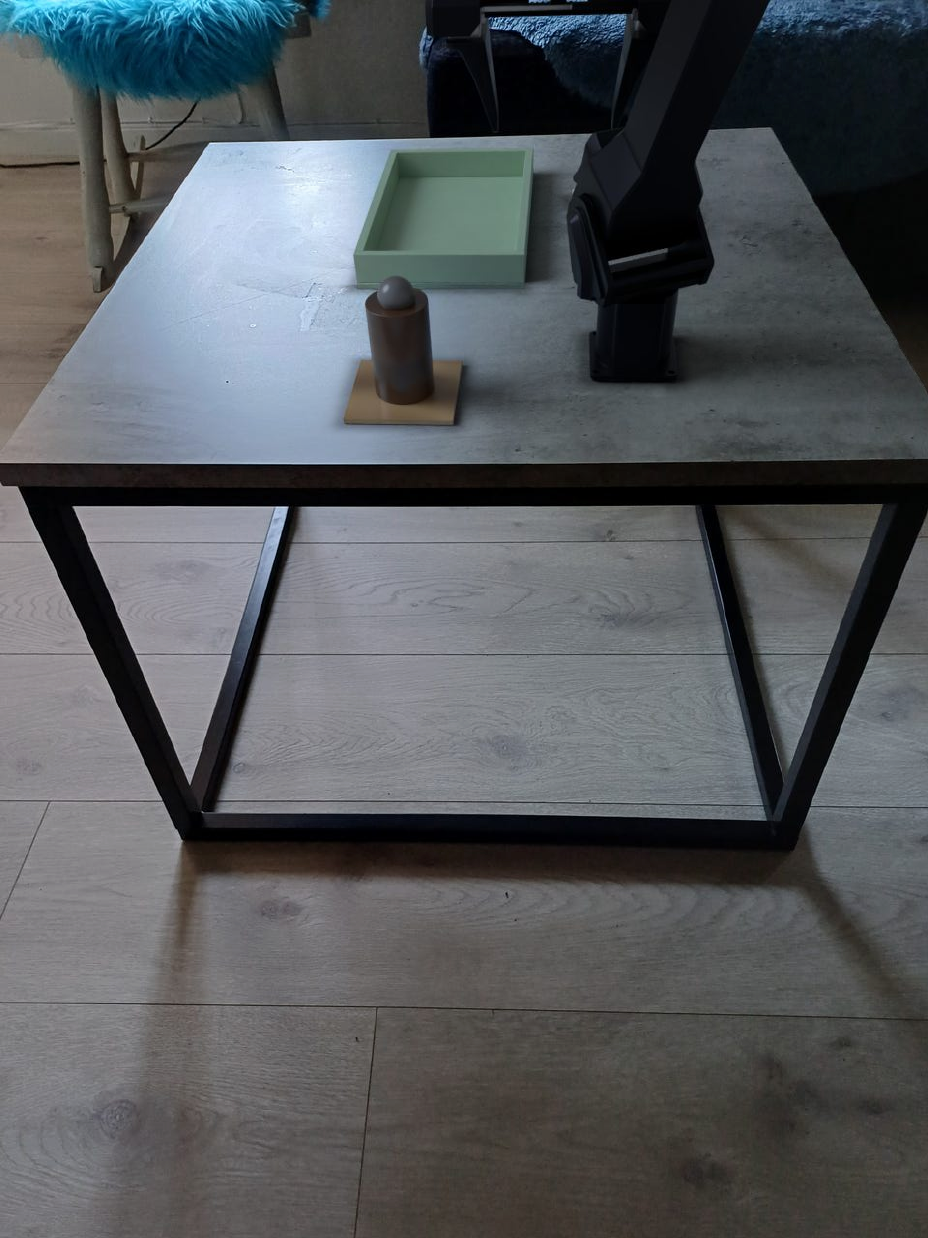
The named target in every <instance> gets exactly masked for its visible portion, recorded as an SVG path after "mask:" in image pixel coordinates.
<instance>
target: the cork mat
mask: <svg viewBox="0 0 928 1238" xmlns="http://www.w3.org/2000/svg"><path fill="white" fill-rule="evenodd" d="M463 362H464V361H463V360H433V370H434V384H435V388H434V391H433V393H432V394H431V395H430V396H429V397H428V398H427V399H425V400H423V401H421V402H418V403H415V404H410V405H395V404H390V403H387V402H385V401H383V400H382V399H380V398H379V397H378V395H377V393H376V388H375V380H374V372H373V364H372V359H361V360H360V361H359V364H358V367H357V370H356V374H355V377H354V382H353V384H352V388H351V392H350V395H349V397H348V401H347V403H346V404H347V405H346V408H345V411H344V415H343V418H342V420H343V424H351V425H353V424H355V425H356V424H358V425H359V424H361V425H365V424H366V425H422V426H423V425H425V426H426V425H430V426H431V425H432V426H434V425H435V426H436V425H437V426H454V424H455V418H456V417H455V416H456V410H457V404H458V398H459V391H460V384H461V378H462V372H463V366H464V365H463V364H464V363H463Z"/></svg>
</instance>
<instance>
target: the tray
mask: <svg viewBox="0 0 928 1238" xmlns="http://www.w3.org/2000/svg"><path fill="white" fill-rule="evenodd" d="M534 151H535V150H534V147H493V148H492V147H491V148H489V147H484V148H479V147H478V148H477V147H476V148H475V147H474V148H407V149H405V148H403V149H399V148H397V149H392V148H391V149H390V150H389V153H388V156H387V159H386V162H385V164H384V167H383V170H382V172H381V175H380V178H379V181H378V184H377V186H376V189H375V192H374V195H373V198H372V201H371V204H370V206H369V209H368V211H367V215H366V217H365V220H364V223H363V226H362V229H361V231H360V234H359V237H358V239H357V242H356V245H355V247H354V248H355V249H354V250H353V255H352V258H353V265H354V273H355V282H356V288H357V289H358V290H361V289H362V290H378V288H379V285H380V284H381V282H382V281H383V280H384V279H386V278H388V277H390V276H401V277H404V278H405V279H407V280H408V281H409V282H410V283H411V285H412V286H413V288H416V289H419V290H525V285H526V284H525V281H526V269H527V268H526V267H527V256H528V255H527V254H528V243H529V231H530V217H531V205H532V193H533V182H534V153H535V152H534Z"/></svg>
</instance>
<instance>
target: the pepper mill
mask: <svg viewBox="0 0 928 1238" xmlns="http://www.w3.org/2000/svg"><path fill="white" fill-rule="evenodd" d="M379 284H380V285H379V288H378V289H377V290H376V291H374V292H373V293H371V294H370V295H368V296H367V297H366V299H365V301H364V306H365V314H366V316H365V317H366V323H367V331H368V339H369V346H370V356H371V360H372V364H373V372H374V380H375V388H376V393H377V395H378V397H379V398H380V399H382V400H383V401H385V402H387V403H390V404H395V405H410V404H415V403H418V402H421V401H423V400H425V399H427V398H428V397H429V396H430V395H431V394H432V393H433V391H434V388H435V384H434V370H433V361H434V359H433V344H432V343H433V342H432V331H431V317H430V304H429V297H428V296H427V293H426V292H424V291H423V290H422V289H416V288H413V286H412V285H411V284H412V283H410V282H409V281H408V280H407V279H405V278H404V277H401V276H390V277H388V278H386V279H384V280H383V281H382V282H381V283H379Z"/></svg>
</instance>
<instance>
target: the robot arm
mask: <svg viewBox="0 0 928 1238" xmlns="http://www.w3.org/2000/svg"><path fill="white" fill-rule="evenodd" d="M770 3H771V0H581V1H580V0H578V1H577V0H576V1H574V0H546V1H545V0H544V1H543V0H542V1H541V2H540V1H535V2H534V1H530V0H424V11H425V12H424V13H425V29H426V30H425V31H426V36H428V37H431V38H445V40H444V41H445V42H444V44H445V49H446V50H448V51H458V52H459V54H460V56H461V57H462V60H463V61H464V63H465V66H466V68H467V70H468V72H469V73H470V75H471V77H472V79H473V81H474V84H475V85H476V88H477V91H478V93H479V97H480V99H481V102H482V105H483V108H484V111H485V114H486V117H487V119H488V122H489V125H490V129H491V131H492V133H498V132H499V101H498V92H497V86H496V85H497V84H496V76H495V70H494V69H495V68H494V62H493V61H494V60H493V53H492V44H491V43H492V42H491V31H490V30H491V28H490V19H497V18H499V19H500V18H530V17H531V18H533V17H534V18H535V17H536V18H537V17H571V16H573V17H574V16H606V15H607V16H608V15H625V24H624V33H623V39H622V48H621V52H620V59H619V64H618V70H617V75H616V82H615V87H614V93H613V97H612V103H611V104H612V105H611V117H610V119H611V121H610V129H606V130H601V131H596V132H592V133H591V134H590V136H589V137H588V139H587V140H586V142H585V144H584V147H583V153H582V157H581V160H580V161H581V162H580V165H579V167H578V169H577V171H576V172H575V173H574V174H573V176H572V179H573V182H574V183H575V187H574V188H575V189H574V188H573V189H574V192H573V193H572V197H571V199H570V201H569V202H568V206H567V213H566V215H565V216H566V227H567V238H568V246H569V255H570V256H569V257H570V266H571V272H572V277H573V278H572V279H573V282H574V284H576V286H577V287H576V296H577V297H578V298H579V299H580V300H584V301H590V302H594V303H595V304H596V305H597V315H596V330H592V331H590V332H589V335H588V350H589V351H588V353H589V354H588V356H589V357H588V358H589V362H588V363H589V379H591V380H593V381H640V382H641V381H646V382H647V381H650V382H656V381H657V382H673V381H676V380H678V377H679V375H678V374H679V369H678V362H677V361H678V360H677V353H676V348H675V346H676V345H675V340H674V330H675V321H676V316H677V315H676V314H677V307H678V299H679V291H680V289H685V288H689V287H692V286H702V285H706V284H707V283H708V281H709V279H710V276H711V274H712V272H713V270H714V268H715V263H716V262H715V256H714V253H713V250H712V249H713V248H712V246H711V243H710V240H709V239H710V238H709V236H708V235H709V234H708V231H707V228H706V225H705V222H704V218H703V214H702V211H701V207H700V205H701V202H702V199H703V197H704V189H703V184H702V180H701V177H700V173H699V170H698V166H697V159H698V155H699V153H700V151H701V149H702V146H703V144H704V142H705V140H706V137H707V136H708V134H709V132H710V129H711V128H712V125H713V123H714V121H715V119H716V117H717V116H718V115H717V114H718V112H719V110H720V109H721V106H722V104H723V102H724V99H725V97H726V95H727V94H728V91H729V89H730V87H731V85H732V83H733V81H734V78H735V77H736V74H737V72H738V70H739V68H740V66H741V64H742V62H743V59H744V58H745V55H746V53H747V51H748V49H749V47H750V44H751V43H752V41H753V39H754V36H755V34H756V32H757V30H758V28H759V26H760V23H761V22H762V19H763V18H764V16H765V13H766V11H767V9H768V7H769V4H770ZM644 70H645V71H644ZM643 72H644V75H643V77H642V80H641V81H640V86H639V87H638V90H637V93H636V96H635V98H634V102H633V104H632V106H631V110H630V113H629V115H628V117H627V120H626V124H625V126H623V127H622V126H621V127H619V125H620V124H621V121H622V119H623V116H624V114H625V112H626V109H627V107H628V105H629V102H630V99H631V98H632V95H633V92H634V90H635V88H636V86H637V84H638V82H639V79H640V77H641V76H642V74H643ZM665 249H666V250H667V251H666V252H661V253H657V254H652V255H648V256H644V257H639V258H634V259H630V260H625V261H621V262H616V263H613V264H610V263H609V262H612V261H617V260H621V259H625V258H629V257H635V256H639V255H642V254H648V253H652V252H657V251H662V250H665Z"/></svg>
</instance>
